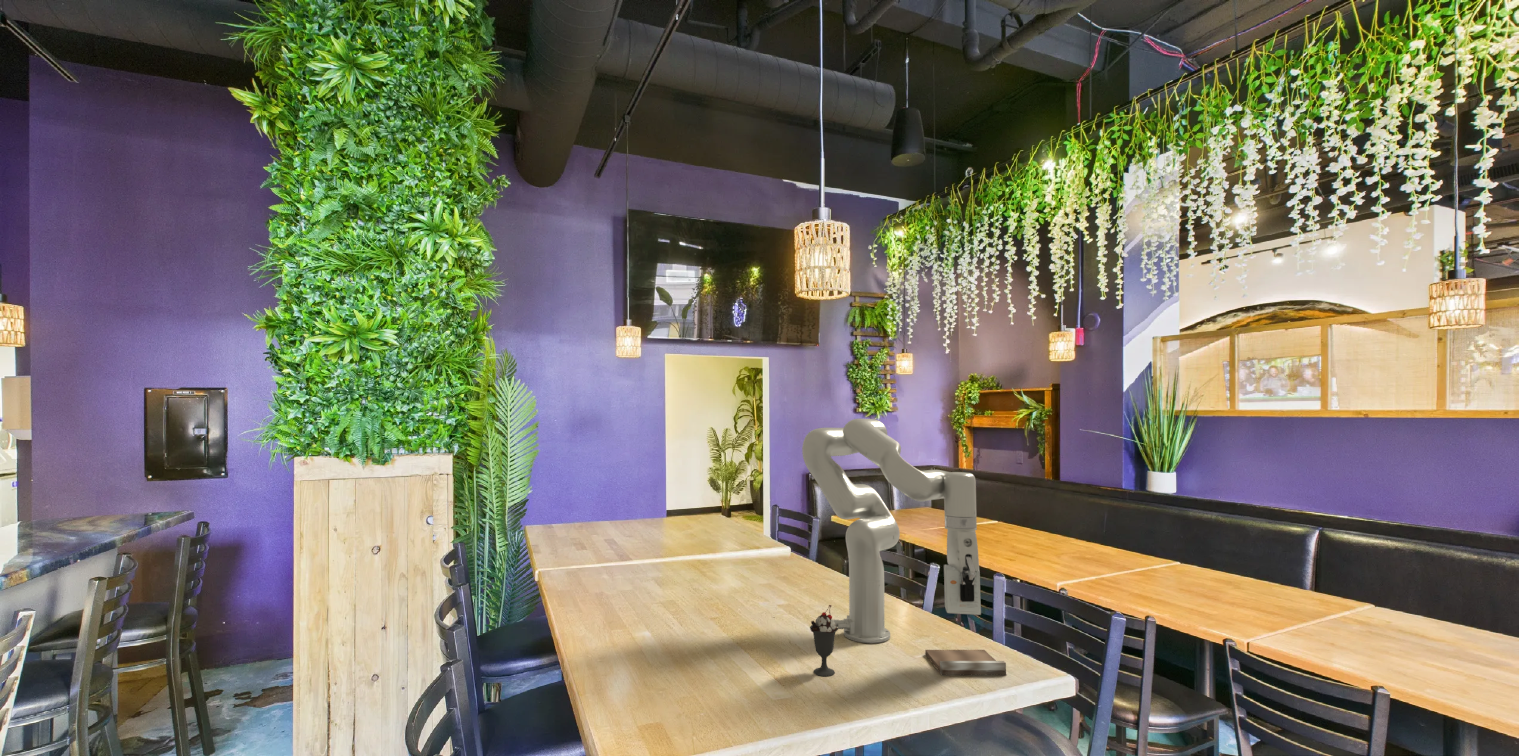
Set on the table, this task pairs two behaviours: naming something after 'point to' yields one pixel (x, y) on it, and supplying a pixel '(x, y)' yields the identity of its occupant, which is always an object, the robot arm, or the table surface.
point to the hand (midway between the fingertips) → (961, 596)
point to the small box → (953, 593)
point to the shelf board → (965, 662)
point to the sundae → (824, 641)
